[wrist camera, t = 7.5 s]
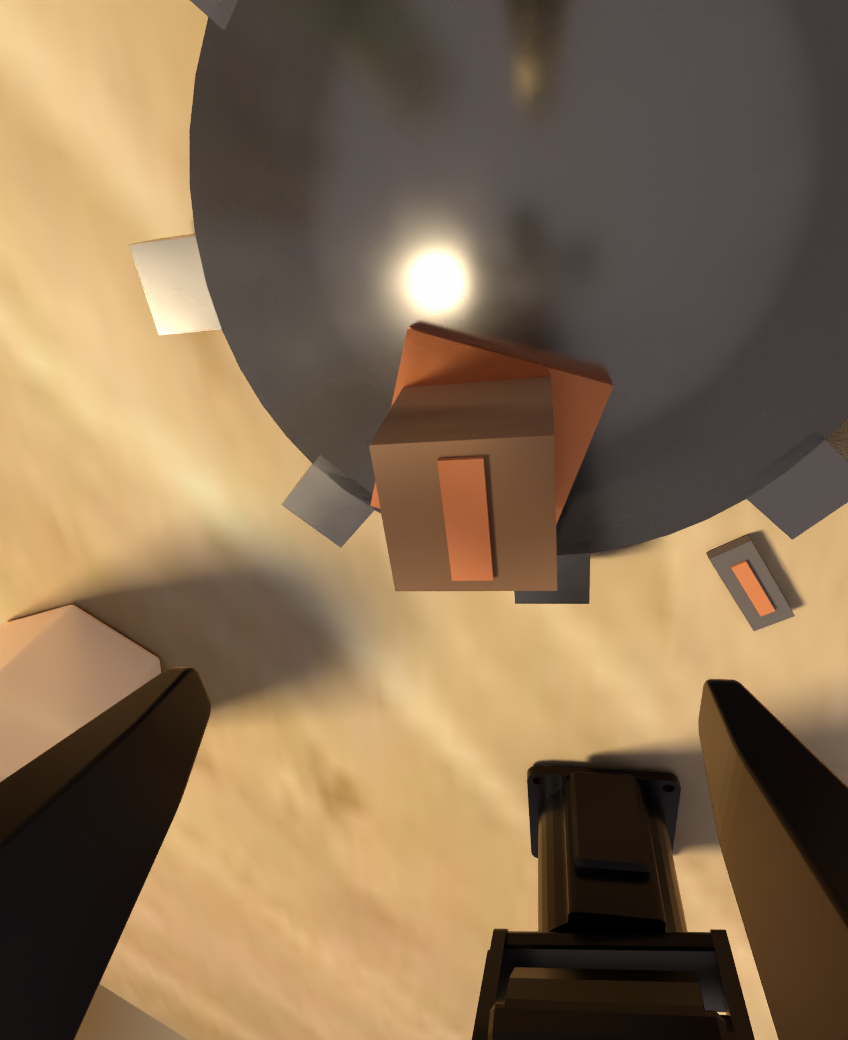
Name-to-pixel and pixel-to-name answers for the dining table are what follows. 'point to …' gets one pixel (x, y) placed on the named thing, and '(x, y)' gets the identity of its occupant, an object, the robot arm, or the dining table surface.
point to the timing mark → (750, 583)
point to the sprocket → (533, 242)
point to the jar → (61, 679)
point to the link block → (469, 486)
